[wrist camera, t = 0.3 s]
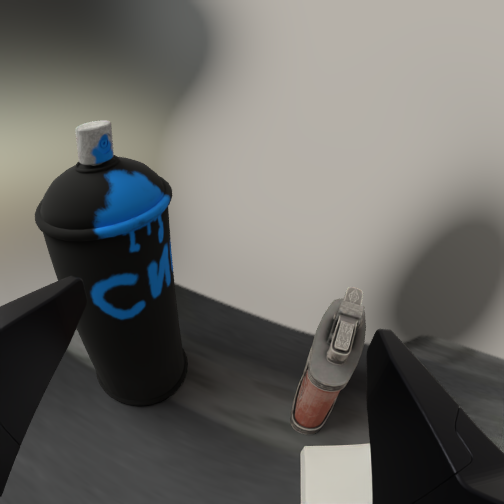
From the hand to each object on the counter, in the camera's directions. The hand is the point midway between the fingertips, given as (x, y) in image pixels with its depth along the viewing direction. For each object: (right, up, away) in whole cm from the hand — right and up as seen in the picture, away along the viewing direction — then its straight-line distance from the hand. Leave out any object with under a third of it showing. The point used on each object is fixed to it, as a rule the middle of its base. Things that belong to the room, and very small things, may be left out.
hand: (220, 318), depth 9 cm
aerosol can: (-9, -8, +17) cm, 21 cm away
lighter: (+6, -10, +16) cm, 20 cm away
